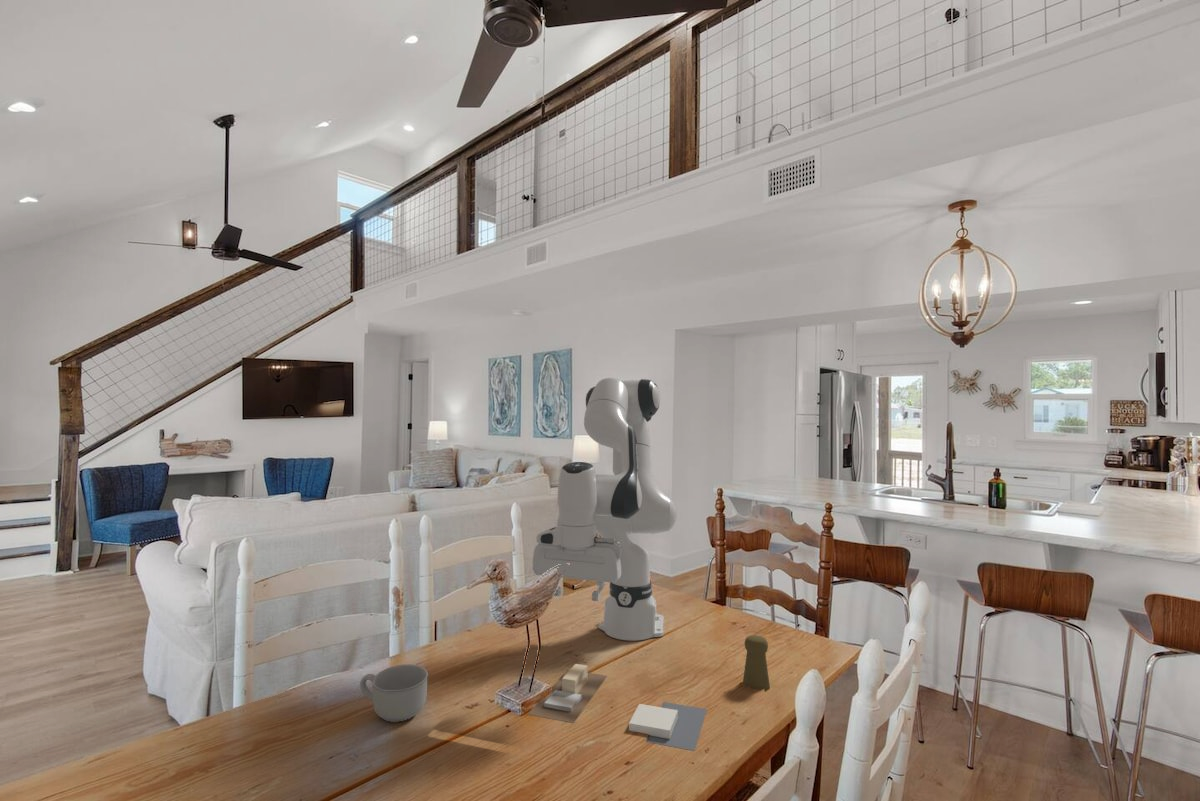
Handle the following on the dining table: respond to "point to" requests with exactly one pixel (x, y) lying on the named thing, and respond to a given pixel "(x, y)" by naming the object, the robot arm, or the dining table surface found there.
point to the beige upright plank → (569, 689)
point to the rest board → (571, 717)
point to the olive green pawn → (756, 663)
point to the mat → (683, 727)
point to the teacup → (397, 691)
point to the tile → (654, 721)
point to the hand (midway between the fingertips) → (576, 597)
